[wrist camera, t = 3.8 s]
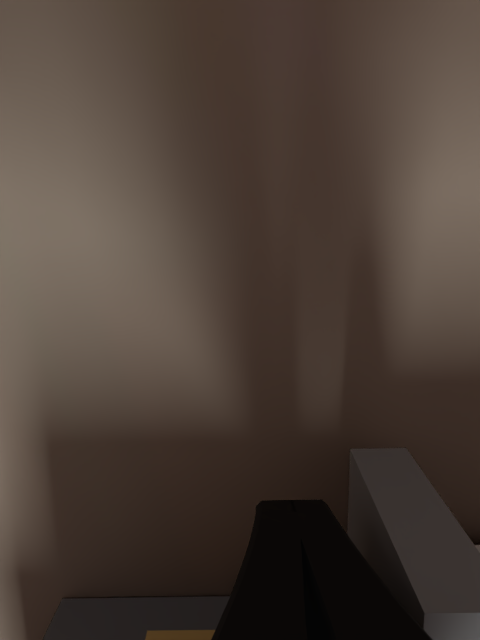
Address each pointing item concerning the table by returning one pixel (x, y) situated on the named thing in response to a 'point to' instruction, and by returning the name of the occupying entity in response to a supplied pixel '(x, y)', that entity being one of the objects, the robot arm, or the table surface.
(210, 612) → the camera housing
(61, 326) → the table surface
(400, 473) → the camera door
